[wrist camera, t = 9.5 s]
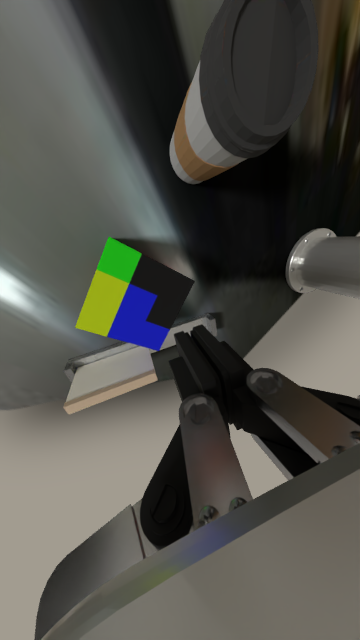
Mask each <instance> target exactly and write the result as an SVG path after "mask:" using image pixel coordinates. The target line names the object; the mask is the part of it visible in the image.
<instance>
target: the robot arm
mask: <svg viewBox="0 0 360 640" xmlns="http://www.w3.org/2000/svg"><path fill="white" fill-rule="evenodd" d="M286 280H287V283H288V285H289V286H290V288H291V289H292V290H294V291H296V292H300V293H309V292H312V291H314V290H316V289H320V290H324V291H328V292H332V293H336V294H341V295H345V296H349V297H353V298H358V299H360V237H337V236H336V235H335V233H334V232H333V231H331V230H329V229H325V228H321V229H315V230H311V231H310V232H308V233H306V234H305V235H304V236H302V237H301V238H300V239H299V240H298V242H297V243H296V244H295V246H294V247H293V249H292V251H291V253H290V255H289V257H288V260H287V264H286ZM190 335H191V336H190ZM190 335H189V333H188V332H186V333H184V331H181V332H178V333H175V334H174V338H175V342H176V345H177V349H178V353H179V356H180V357H178V358H175V359H173V360H170V361H169V365H170V368H171V371H172V374H173V377H174V380H175V383H176V386H177V389H178V392H179V394H180V397H181V400H182V403H181V406H180V408H179V419H180V425H179V427H178V429H177V431H176V433H175V434H174V436H173V438H172V440H171V442H170V444H169V446H168V448H167V450H166V452H165V454H164V456H163V458H162V460H161V462H160V463H159V465H158V467H157V469H156V471H155V473H154V475H153V477H152V479H151V481H150V483H149V485H148V487H147V489H146V491H145V493H144V496H143V498H142V499H141V500H140V501H138V502H137V503H136V504H135V505H133V506H131V504H130V505H129V506H128V507H126V508H125V509H124V510H123V511H121V512H120V513H119V514H117V515H116V516H115V517H114V518H113V519H111V520H110V521H109V522H108V523H106V524H105V525H104V526H103V527H101V528H100V529H99V530H98V531H96V532H95V533H94V534H93V535H92V536H90V537H89V538H88V539H87V540H85V541H84V542H83V543H82V544H80V545H79V546H78V547H77V548H75V549H74V550H73V551H72V552H70V553H69V554H68V555H67V556H66V557H65V558H64V559H63V560H62V561H61V562H60V563H59V564H58V565H57V566H56V568H55V570H54V571H53V573H52V574H51V576H50V578H49V579H48V581H47V584H46V586H45V588H44V591H43V593H42V596H41V598H40V603H39V608H38V613H37V619H36V629H35V639H34V640H360V395H359V396H358V397H357V399H356V398H352V397H349V396H345V395H340V394H335V393H330V392H325V391H320V390H315V389H310V388H305V387H300V386H298V385H297V384H296V383H294V382H293V381H291V380H290V379H288V378H287V377H285V376H284V375H282V374H281V373H279V372H277V371H275V370H272V369H268V368H259V369H255V370H253V369H252V368H251V367H250V366H249V365H248V364H247V363H246V362H245V361H244V360H243V359H242V358H241V357H240V356H239V355H238V354H237V353H236V352H235V351H234V350H233V349H232V348H231V347H230V346H229V345H228V344H227V343H226V342H225V341H222V342H219V341H218V340H217V339H216V338H215V337H214V336H213V335H212V334H211V333H210V332H209V331H208V330H207V329H206V328H205V326H204V325H202V324H201V325H198V326H195V327H193V330H192V331H190ZM228 423H229V424H230V425H231V424H234V425H235V427H236V429H237V430H239V429H241V428H242V429H243V430H244V431H245V432H248V433H251V436H252V437H253V439H254V440H255V441H256V443H257V444H258V445H259V446H260V447H261V449H262V450H263V451H264V452H265V453H266V454H267V456H268V457H269V458H270V459H271V460H272V462H273V463H274V464H275V465H276V466H277V467H278V469H279V470H280V471H281V472H282V473H283V475H284V476H285V477H286V478H287V479H288V481H287V482H285V483H283V484H281V485H279V486H277V487H276V488H274V489H272V490H270V491H268V492H266V493H264V494H262V495H261V496H259V497H257V498H255V499H253V498H252V496H251V493H250V491H249V488H248V485H247V482H246V480H245V477H244V474H243V472H242V469H241V466H240V464H239V461H238V458H237V456H236V453H235V450H234V448H233V445H232V442H231V439H230V431H229V425H228Z"/></svg>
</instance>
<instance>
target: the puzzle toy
mask: <svg viewBox="0 0 360 640" xmlns="http://www.w3.org/2000/svg"><path fill="white" fill-rule="evenodd" d="M194 282H195V281H194V280H192V279H190V278H188V277H186V276H184V275H182V274H180V273H178V272H177V271H175V270H173V269H171V268H169V267H167V266H165V265H163V264H161V263H159V262H157V261H155V260H153V259H151V258H150V257H148V256H146V255H144V254H142V253H140V252H138V251H136V250H134V249H132V248H130V247H128V246H126V245H124V244H122V243H121V242H119V241H117V240H115V239H113V238H111V237H109V238H108V240H107V243H106V246H105V248H104V251H103V254H102V256H101V259H100V262H99V264H98V267H97V270H96V273H95V275H94V278H93V281H92V283H91V286H90V289H89V291H88V294H87V297H86V299H85V302H84V305H83V308H82V310H81V313H80V316H79V318H78V321H77V324H76V326H75V328H78V329H82V330H85V331H89V332H92V333H96V334H99V335H103V336H106V337H110V338H114V339H117V340H121V341H124V342H128V343H131V344H135V345H138V346H142V347H146V348H149V349H153V350H156V351H159V350H160V348H161V346H162V344H163V342H164V340H165V338H166V336H167V335H168V333H169V331H170V329H171V327H172V325H173V323H174V321H175V319H176V317H177V315H178V313H179V311H180V309H181V307H182V305H183V303H184V301H185V299H186V297H187V295H188V293H189V291H190V289H191V288H192V286H193V284H194Z"/></svg>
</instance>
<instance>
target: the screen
mask: <svg viewBox="0 0 360 640" xmlns="http://www.w3.org/2000/svg"><path fill="white" fill-rule="evenodd" d="M154 381H157V376H156V373H155V369H154V365H153V362H152V358H151V355H150V351H149V348H146V347H142V346H139V347H136V348H134V349H131V350H128V351H125V352H122V353H119V354H116V355H113V356H110V357H108V358H105V359H102V360H99V361H96V362H93V363H90V364H87V365H84V366H82V367H79V368H77V370H76V373H75V376H74V379H73V382H72V385H71V388H70V391H69V394H68V397H67V400H66V403H65V405H64V409H65V410H66V412H67V413H68V414H72V413H74V412H77V411H79V410H82V409H85V408H87V407H89V406H92V405H95V404H97V403H100V402H102V401H105V400H107V399H110V398H113V397H116V396H118V395H121V394H123V393H126V392H128V391H131V390H133V389H136V388H139V387H141V386H144V385H146V384H149V383H152V382H154Z"/></svg>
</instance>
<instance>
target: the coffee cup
mask: <svg viewBox="0 0 360 640" xmlns="http://www.w3.org/2000/svg"><path fill="white" fill-rule="evenodd" d="M317 57H318V29H317V23H316V17H315V12H314V7H313V4H312V1H311V0H224V2H223V4H222V6H221V8H220V10H219V12H218V13H217V14H216V16H215V18H214V20H213V22H212V24H211V26H210V28H209V29H208V31H207V33H206V37H205V41H204V45H203V48H202V52H201V57H200V62H199V65H198V67H197V70H196V73H195V76H194V78H193V81H192V83H191V85H190V87H189V89H188V92H187V94H186V97H185V100H184V103H183V106H182V109H181V111H180V114H179V117H178V120H177V123H176V127H175V131H174V133H173V136H172V139H171V143H170V159H171V163H172V166H173V169H174V171H175V172H176V174H177V175H178V176H179V177H180V178H181V179H182V180H183V181H185V182H187V183H190V184H197V183H200V182H202V181H204V180H208V179H210V178H212V177H214V176H216V175H218V174H220V173H222V172H224V171H226V170H228V169H230V168H232V167H234V166H236V165H237V164H239V163H240V162H242V161H244V160H245V159H247V158H253V157H257V156H259V155H261V154H263V153H265V152H267V151H268V150H269V149H270V148H271V147H272V146H273V145H275V144H276V143H277V142H278V141H279V140H280V139H281V138H282V137H283V136H284V135H285V134H286V133H287V132H288V130H289V129H290V127H291V125H292V124H293V123H294V122H295V121H296V119H297V118H298V116H299V115H300V113H301V112H302V110H303V108H304V107H305V105H306V102H307V100H308V97H309V95H310V92H311V90H312V86H313V82H314V77H315V73H316V67H317Z"/></svg>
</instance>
